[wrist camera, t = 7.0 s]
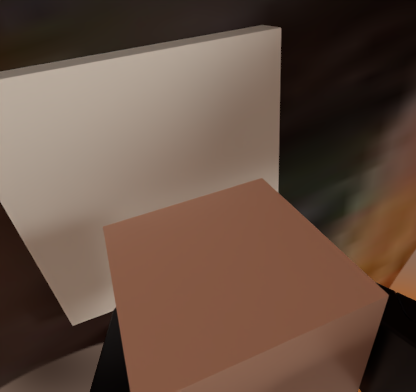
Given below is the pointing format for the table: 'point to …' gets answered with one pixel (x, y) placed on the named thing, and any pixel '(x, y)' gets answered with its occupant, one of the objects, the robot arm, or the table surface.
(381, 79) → the table surface
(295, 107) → the table surface
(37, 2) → the table surface
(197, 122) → the baseplate
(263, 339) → the terracotta block
